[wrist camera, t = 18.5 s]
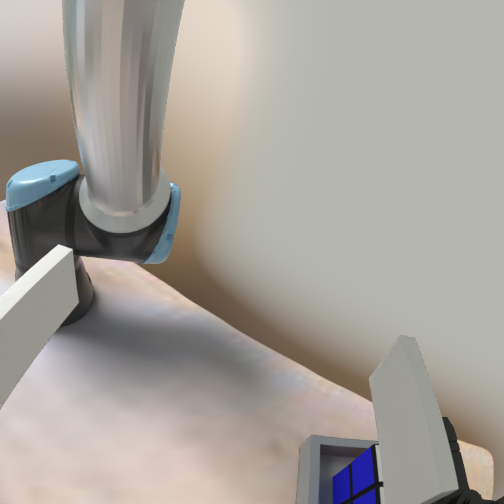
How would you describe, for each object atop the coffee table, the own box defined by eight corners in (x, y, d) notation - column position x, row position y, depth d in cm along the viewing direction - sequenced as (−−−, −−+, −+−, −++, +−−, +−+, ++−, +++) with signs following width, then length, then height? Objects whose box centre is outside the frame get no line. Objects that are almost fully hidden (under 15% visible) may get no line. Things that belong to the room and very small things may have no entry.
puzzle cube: (331, 475, 30) (372, 442, 25) (396, 475, 30) (442, 441, 25) (330, 545, 21) (379, 529, 16) (402, 537, 21) (457, 513, 16)
